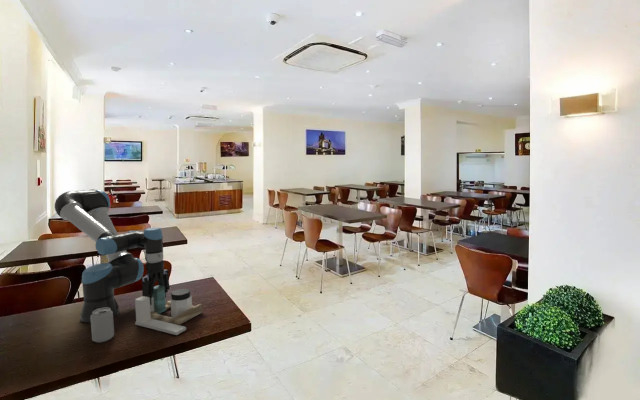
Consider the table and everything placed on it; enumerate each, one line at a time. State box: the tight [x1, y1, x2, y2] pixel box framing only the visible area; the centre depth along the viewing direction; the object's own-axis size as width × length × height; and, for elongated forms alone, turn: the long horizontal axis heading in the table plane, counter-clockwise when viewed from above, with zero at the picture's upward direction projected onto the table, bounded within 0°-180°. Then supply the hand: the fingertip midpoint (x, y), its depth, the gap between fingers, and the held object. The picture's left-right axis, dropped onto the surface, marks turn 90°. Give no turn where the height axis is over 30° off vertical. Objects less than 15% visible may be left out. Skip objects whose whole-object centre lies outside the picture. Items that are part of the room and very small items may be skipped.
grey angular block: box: [134, 295, 187, 336], centre depth 141 cm, size 24×5×11 cm, turn 67°
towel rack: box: [150, 284, 203, 326], centre depth 152 cm, size 22×14×12 cm
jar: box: [169, 288, 193, 318], centre depth 151 cm, size 9×8×12 cm
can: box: [90, 307, 115, 343], centre depth 132 cm, size 8×8×12 cm
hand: (157, 308), depth 157 cm, fingers open, 6 cm apart
